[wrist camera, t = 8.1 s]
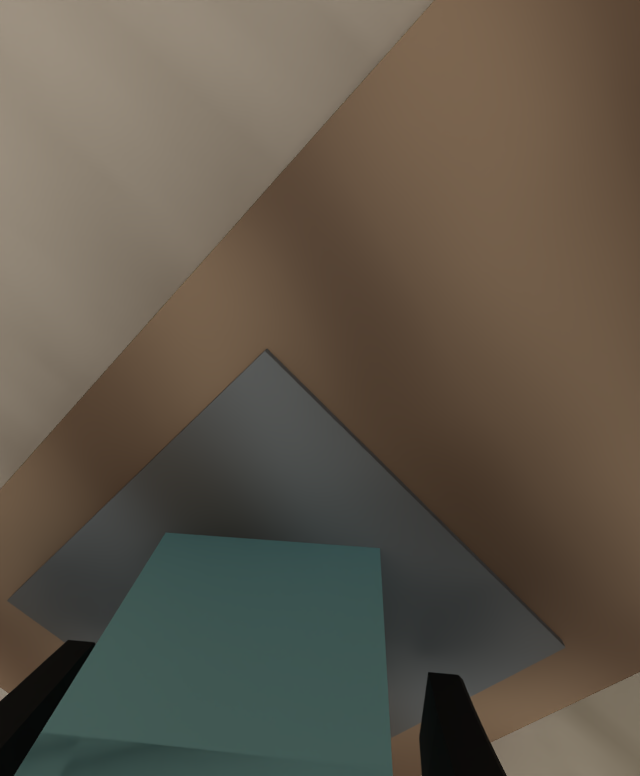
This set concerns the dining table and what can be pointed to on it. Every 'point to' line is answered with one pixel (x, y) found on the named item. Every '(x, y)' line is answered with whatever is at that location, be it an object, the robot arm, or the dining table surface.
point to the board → (396, 377)
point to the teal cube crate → (232, 668)
